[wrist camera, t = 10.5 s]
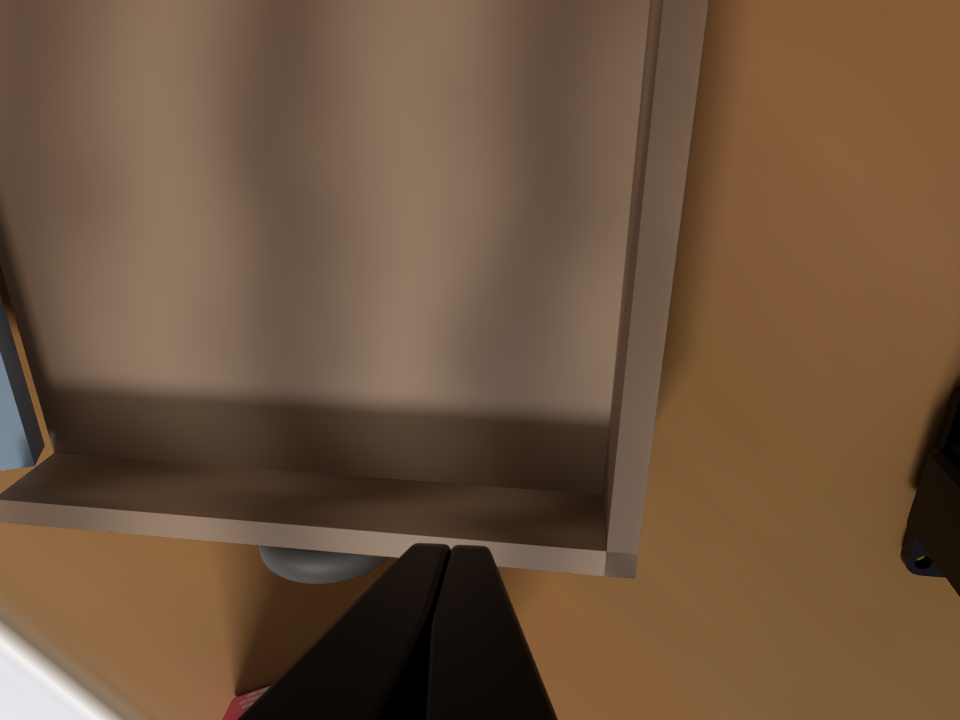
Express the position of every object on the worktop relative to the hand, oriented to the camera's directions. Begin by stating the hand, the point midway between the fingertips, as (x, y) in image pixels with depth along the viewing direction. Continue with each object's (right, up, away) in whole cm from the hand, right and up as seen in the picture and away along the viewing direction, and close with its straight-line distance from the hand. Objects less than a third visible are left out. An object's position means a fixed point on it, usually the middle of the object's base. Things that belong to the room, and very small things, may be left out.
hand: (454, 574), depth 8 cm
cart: (-4, +6, +12) cm, 14 cm away
